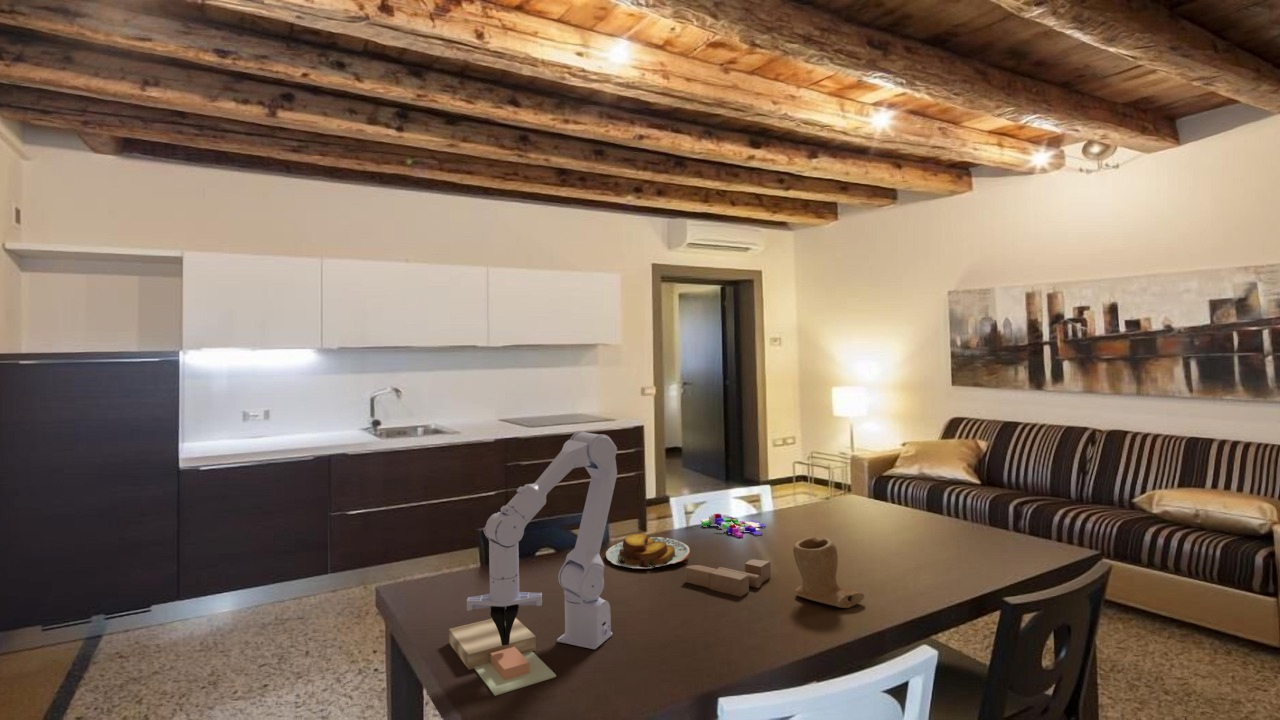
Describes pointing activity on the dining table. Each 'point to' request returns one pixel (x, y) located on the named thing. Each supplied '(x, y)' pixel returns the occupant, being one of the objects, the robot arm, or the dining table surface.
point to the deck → (487, 641)
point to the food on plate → (647, 551)
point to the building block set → (732, 528)
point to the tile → (509, 663)
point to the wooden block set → (729, 577)
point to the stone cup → (822, 574)
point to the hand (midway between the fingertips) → (505, 642)
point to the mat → (502, 686)
